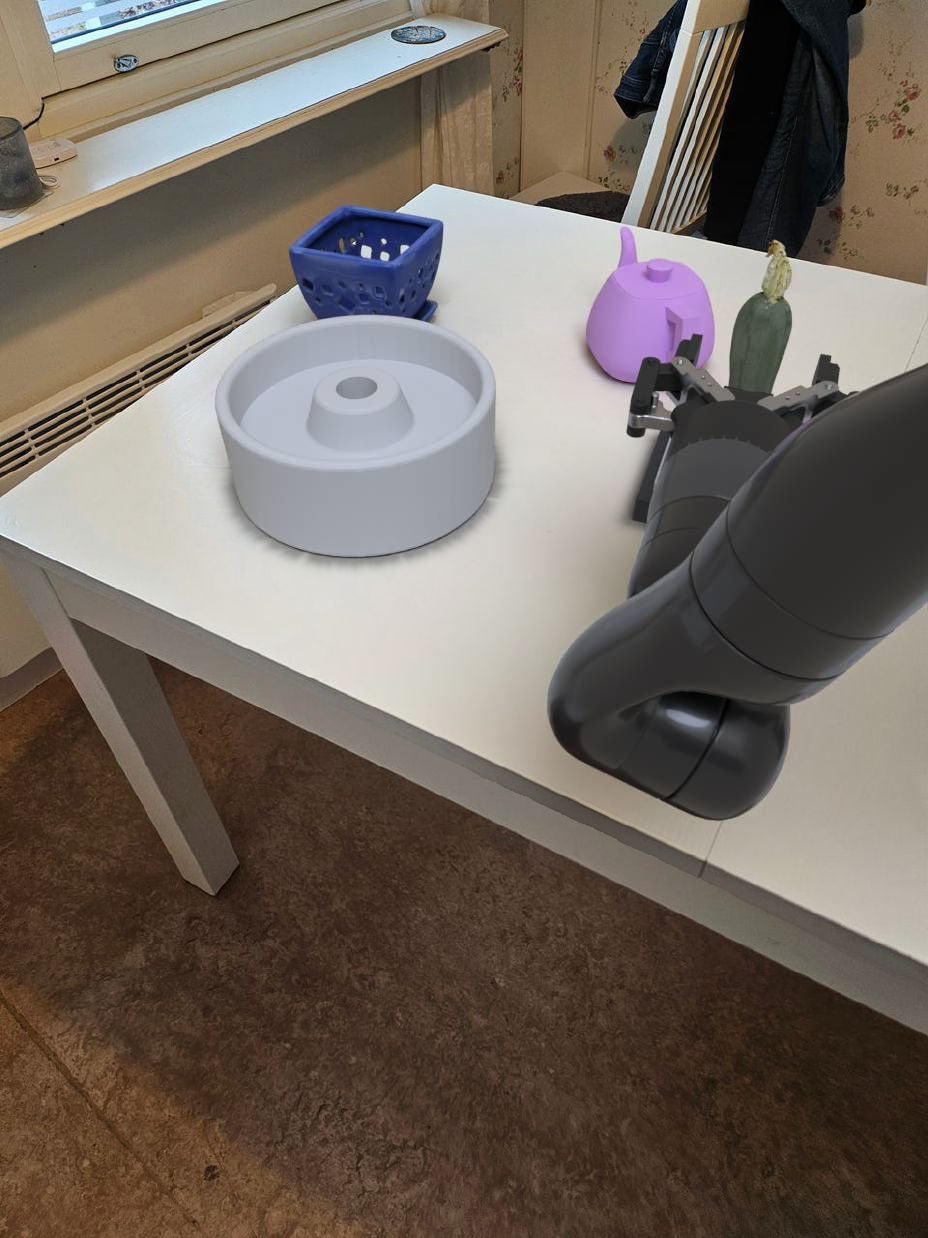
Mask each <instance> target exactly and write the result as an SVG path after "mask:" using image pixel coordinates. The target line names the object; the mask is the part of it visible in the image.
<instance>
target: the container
mask: <svg viewBox="0 0 928 1238" xmlns="http://www.w3.org/2000/svg"><path fill="white" fill-rule="evenodd" d="M494 373H495V372H494V370H493V367H492V365H491V364H490V362H489V360H488V359H487V357H486V356H485V355H484V353H483V352H481V350H480V349H478V348H477V346H475V345H474V344H473V343H471V342H470V341H469V340H467V339H466V338H465V337H463V336H461V335H459V334H458V333H457V332H454V331H452V330H449V329H448V328H445V327H442V326H439V325H438V324H434V323H432V322H428V321H427V322H424V321H420V320H415V319H410V318H404V317H396V316H386V315H352V316H341V317H333V318H327V319H321V320H318V319H317V320H313V321H308V322H305V323H299V324H297V325H294V326H291V327H288V328H286V329H283V330H279V331H278V332H276V333H273V334H271V335H269V336H267V337H265V338H263V339H261V340H259V341H258V342H256V343H255V344H253V345H251V346H250V347H249V348H247V349H246V350H244V351H243V352H242V353H240V354H239V355H238V356H237V357H236V358H235V359H234V360H233V361H232V363H231V364H230V365H229V366H228V367H227V368H226V369H225V370H224V373H223V374H222V375H221V377H220V380H219V381H218V383H217V386H216V391H215V396H214V397H215V398H214V410H215V414H216V417H217V422H218V425H219V430H220V434H221V438H222V441H223V444H224V448H225V454H226V457H227V461H228V464H229V469H230V473H231V476H232V480H233V484H234V488H235V491H236V492H235V493H236V497H237V499H238V501H239V504H240V506H241V508H242V510H243V511H244V513H245V514H246V516H247V517H248V518H249V520H250V521H251V522H252V523H253V524H254V525H255V526H256V527H257V528H259V530H261V531H263V533H265V534H266V535H268V536H270V537H271V538H272V539H274V540H277V541H279V542H280V543H283V544H285V545H287V546H290V547H292V548H296V549H297V550H298V549H299V550H301V551H304V552H309V553H313V554H319V555H325V556H330V557H344V558H364V557H377V556H384V555H390V554H396V553H401V552H404V551H408V550H411V549H415V548H418V547H421V546H424V545H426V544H429V543H431V542H434V541H436V540H438V539H440V538H442V537H444V536H447V534H449V533H451V532H453V531H454V530H456V529H458V528H459V527H461V525H463V524H464V523H466V522H467V520H469V519H470V518H471V517H472V516H473V515H475V513H476V512H477V511H478V510H479V509H480V507H481V506H482V505H483V504H484V502H485V500H486V498H487V497H488V495H489V492H490V490H491V488H492V485H493V482H494V478H495V477H494V476H495V461H496V460H495V455H496V453H495V452H496V451H495V450H496V406H497V405H496V404H497V403H496V400H497V399H496V397H497V383H496V378H495V374H494Z"/></svg>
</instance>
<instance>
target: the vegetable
mask: <svg viewBox="0 0 928 1238" xmlns="http://www.w3.org/2000/svg"><path fill="white" fill-rule="evenodd" d="M767 243H768V244H771V246H769V247H768V251H767V253H766V255H765V256H764V257H765V258H769V257H771V256H772V258H771V259H770V261H769V263H768V265H767V268H766V271H765V275H764V276H763V279H762V281H761V290H762V291H758V292H757V293H754V295H752V296H751V297H750V298H748V299H747V300H746V301H745V302H744V303H743V304H742V306H741V308H740V309H739V311H738V312H737V315H736V318H735V321H734V324H733V328H732V335H731V340H730V347H729V355H728V357H729V358H728V359H729V360H728V362H729V364H728V366H729V367H728V368H729V369H728V371H729V376H728V384H727V386H730V387H736V388H739V389H742V390H745V391H750V392H765V393H771V394H773V389H774V385H775V382H776V380H777V376H778V373H779V371H780V368H781V366H782V362H783V359H784V356H785V353H786V349H787V346H788V344H789V339H790V337H791V333H792V330H793V329H792V328H793V313H792V308H791V305H790V304H789V301H788V300H787V299H786V298H785V296H784V295H785V293H786V291H787V290H788V289H789V287H790V285H791V283H792V279H793V277H792V276H793V271H792V270H793V269H792V266H791V264H790V262H791V261H790V259H789V258H788V257H787V253H786V251H785V250H786V246H785V245H784V244H783V243H782V242H780V241H779V240H776V239H773V240H772V241H771V242H767Z"/></svg>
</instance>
